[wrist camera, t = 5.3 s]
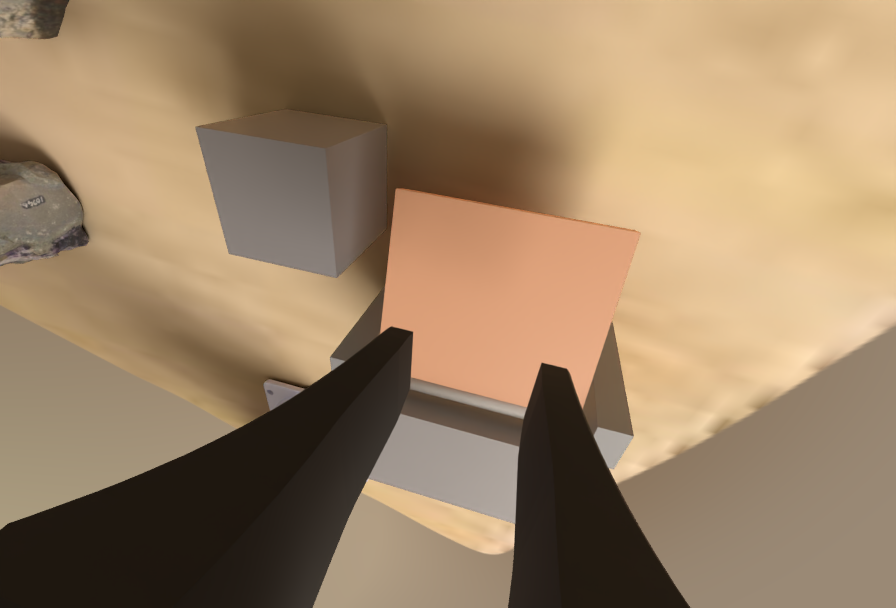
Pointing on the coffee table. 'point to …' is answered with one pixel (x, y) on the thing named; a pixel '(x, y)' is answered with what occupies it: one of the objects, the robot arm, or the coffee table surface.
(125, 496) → the robot arm
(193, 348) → the coffee table surface
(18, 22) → the stone block
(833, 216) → the coffee table surface
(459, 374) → the trapdoor
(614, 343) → the frame
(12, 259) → the mineral rock
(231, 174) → the gray cube
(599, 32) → the coffee table surface
